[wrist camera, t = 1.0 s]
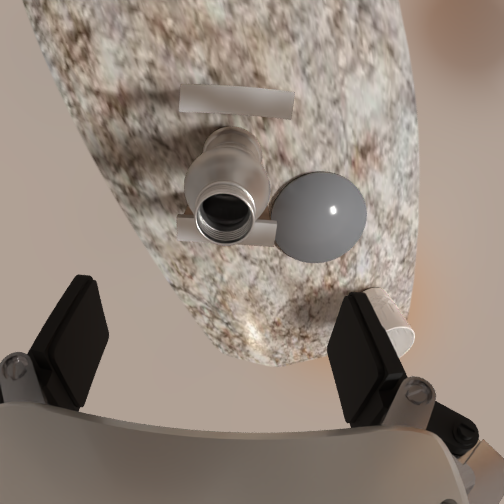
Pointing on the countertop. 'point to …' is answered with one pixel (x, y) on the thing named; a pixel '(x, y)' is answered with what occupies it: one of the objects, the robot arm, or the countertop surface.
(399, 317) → the white cup
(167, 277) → the countertop surface
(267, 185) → the grey bulging hollow cylinder
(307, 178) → the coaster
